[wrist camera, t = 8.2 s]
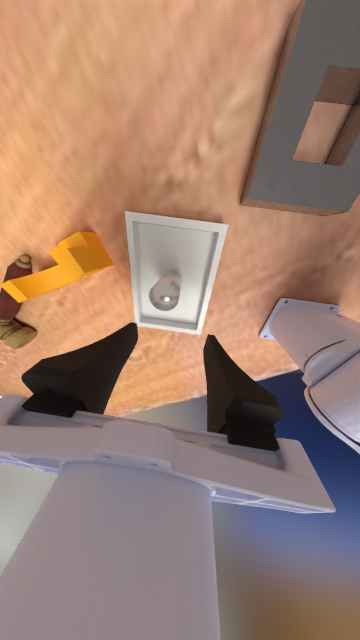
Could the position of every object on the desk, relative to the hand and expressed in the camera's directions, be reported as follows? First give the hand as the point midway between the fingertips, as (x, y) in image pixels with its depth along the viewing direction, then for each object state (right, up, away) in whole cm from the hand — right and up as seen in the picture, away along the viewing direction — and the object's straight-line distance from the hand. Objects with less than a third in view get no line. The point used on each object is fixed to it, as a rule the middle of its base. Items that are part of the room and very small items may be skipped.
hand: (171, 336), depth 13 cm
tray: (0, +8, +7) cm, 11 cm away
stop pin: (0, +8, +7) cm, 10 cm away
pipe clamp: (-16, +11, +8) cm, 21 cm away
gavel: (-30, +6, +12) cm, 33 cm away
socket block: (+13, +19, -1) cm, 23 cm away
